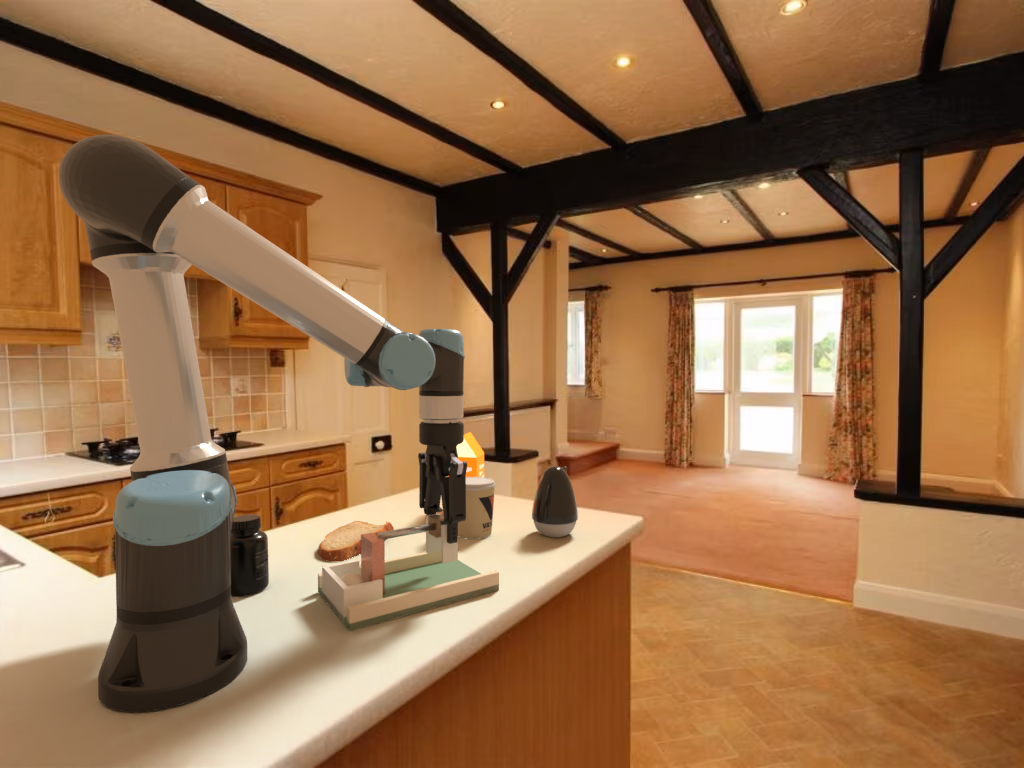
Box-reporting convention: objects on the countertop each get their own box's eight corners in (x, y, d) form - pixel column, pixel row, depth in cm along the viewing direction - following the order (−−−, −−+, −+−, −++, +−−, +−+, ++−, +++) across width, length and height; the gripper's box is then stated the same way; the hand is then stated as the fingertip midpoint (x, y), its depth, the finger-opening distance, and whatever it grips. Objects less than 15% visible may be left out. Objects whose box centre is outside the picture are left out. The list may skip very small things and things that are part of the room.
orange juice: (447, 513, 138) (447, 435, 138) (456, 505, 147) (456, 431, 146) (477, 515, 137) (477, 436, 136) (484, 506, 146) (485, 432, 145)
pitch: (349, 630, 76) (349, 595, 76) (318, 592, 89) (317, 562, 89) (498, 590, 90) (499, 560, 90) (452, 562, 103) (452, 536, 103)
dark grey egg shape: (585, 531, 123) (586, 465, 123) (564, 544, 114) (565, 472, 114) (546, 524, 129) (546, 460, 128) (523, 536, 120) (523, 467, 120)
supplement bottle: (259, 578, 95) (259, 510, 95) (275, 589, 90) (274, 517, 90) (217, 589, 90) (216, 517, 90) (230, 601, 85) (229, 526, 85)
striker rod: (372, 597, 84) (372, 533, 83) (361, 587, 88) (360, 525, 87) (455, 577, 92) (455, 518, 92) (441, 568, 96) (441, 512, 96)
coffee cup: (489, 541, 116) (489, 485, 115) (447, 539, 118) (447, 483, 117) (499, 529, 125) (499, 477, 125) (460, 526, 127) (460, 475, 126)
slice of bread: (326, 566, 102) (325, 546, 102) (304, 540, 117) (304, 523, 117) (415, 549, 112) (415, 531, 112) (384, 528, 127) (384, 512, 127)
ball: (371, 593, 84) (348, 609, 82) (362, 585, 87) (339, 600, 85) (361, 572, 83) (337, 587, 81) (353, 564, 86) (329, 579, 84)
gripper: (488, 423, 87) (488, 567, 88) (437, 415, 102) (437, 538, 103) (447, 426, 83) (446, 577, 83) (399, 417, 98) (399, 546, 98)
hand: (441, 555), depth 93 cm, fingers open, 5 cm apart
